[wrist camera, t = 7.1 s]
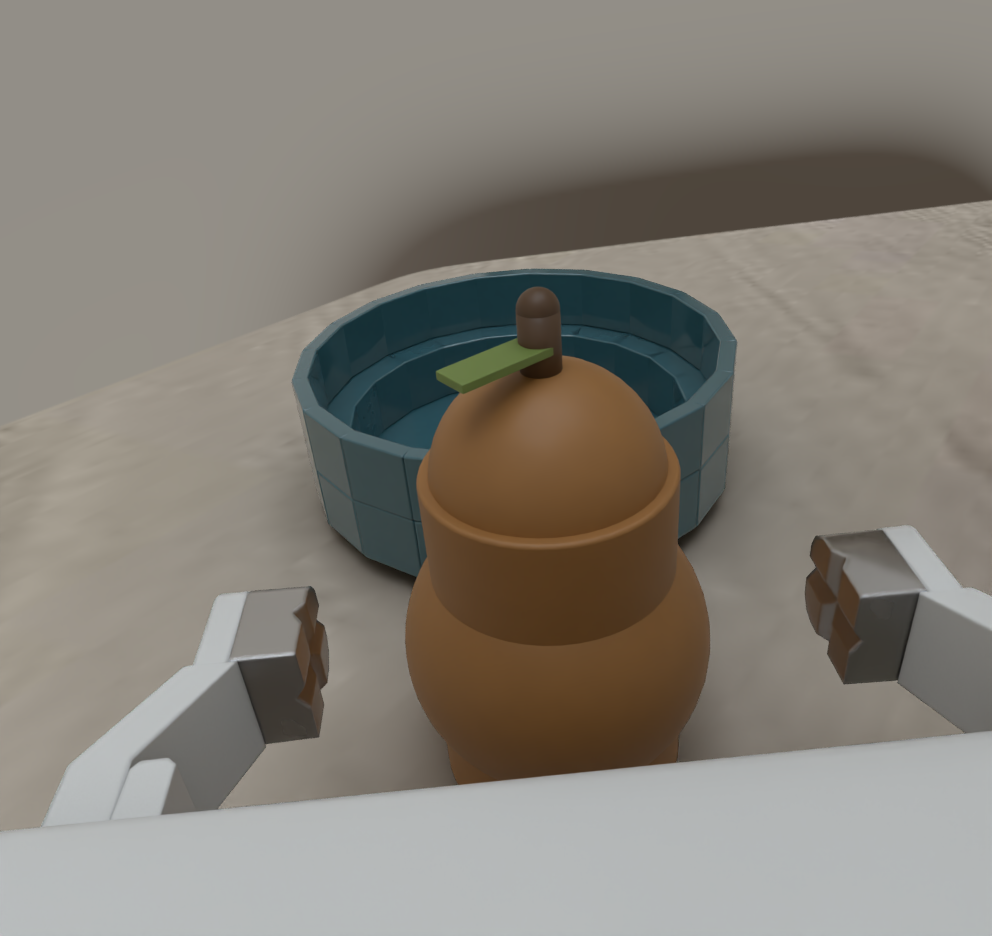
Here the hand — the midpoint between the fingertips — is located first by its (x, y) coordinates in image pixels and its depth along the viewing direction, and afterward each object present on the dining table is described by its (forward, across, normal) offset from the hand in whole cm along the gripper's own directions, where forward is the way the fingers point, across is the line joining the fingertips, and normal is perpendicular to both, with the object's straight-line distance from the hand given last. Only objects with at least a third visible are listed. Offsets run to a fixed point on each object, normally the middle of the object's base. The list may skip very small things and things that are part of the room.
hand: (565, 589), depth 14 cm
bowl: (+13, 0, +6) cm, 14 cm away
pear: (+2, 0, +6) cm, 6 cm away
